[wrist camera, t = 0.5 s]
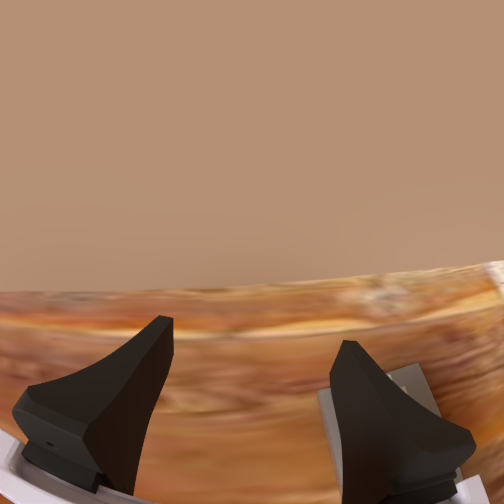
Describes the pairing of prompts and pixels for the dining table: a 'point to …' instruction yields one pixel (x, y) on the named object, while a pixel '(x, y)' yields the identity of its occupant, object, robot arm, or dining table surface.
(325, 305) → the dining table surface
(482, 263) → the dining table surface
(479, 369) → the dining table surface
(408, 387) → the panel
